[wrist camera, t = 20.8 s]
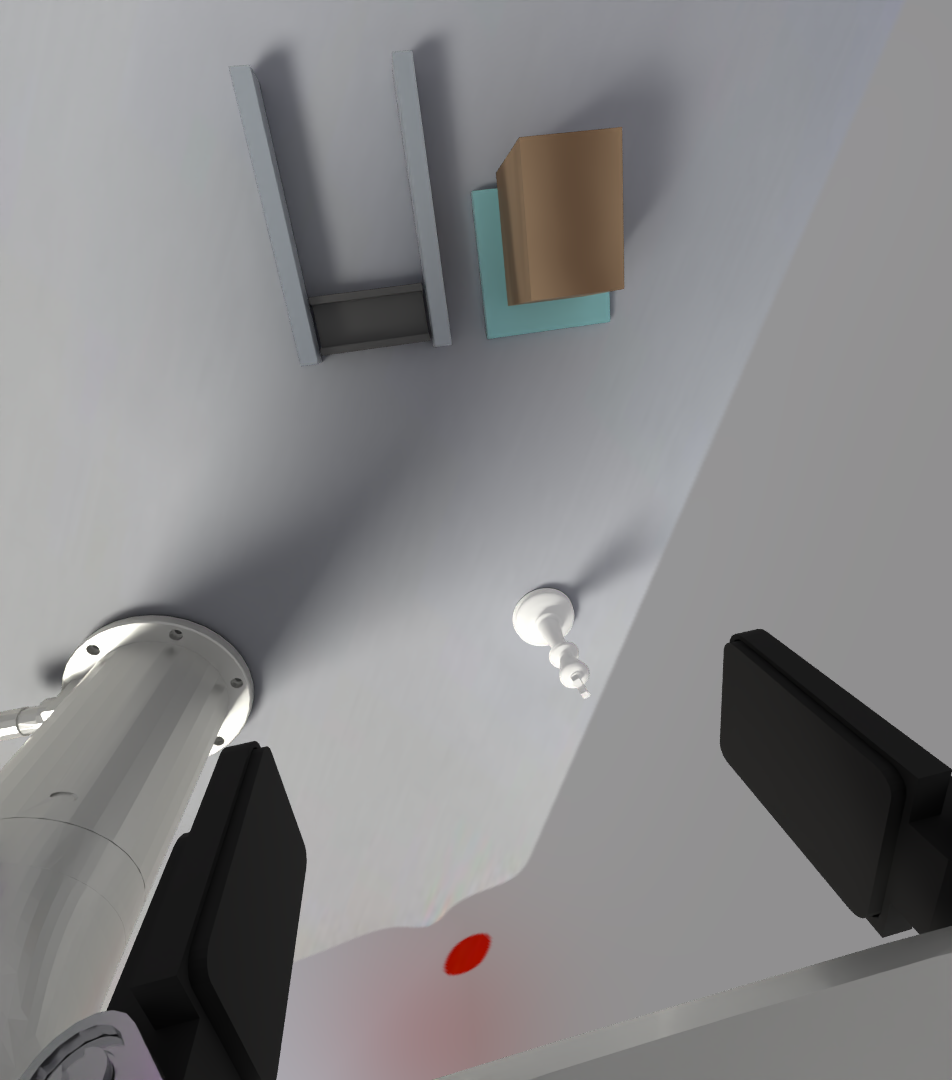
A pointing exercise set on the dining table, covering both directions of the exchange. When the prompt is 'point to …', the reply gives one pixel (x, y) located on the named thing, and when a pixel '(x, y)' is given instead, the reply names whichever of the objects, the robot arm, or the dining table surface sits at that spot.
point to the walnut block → (562, 215)
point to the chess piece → (552, 633)
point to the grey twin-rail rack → (358, 313)
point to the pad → (494, 292)
